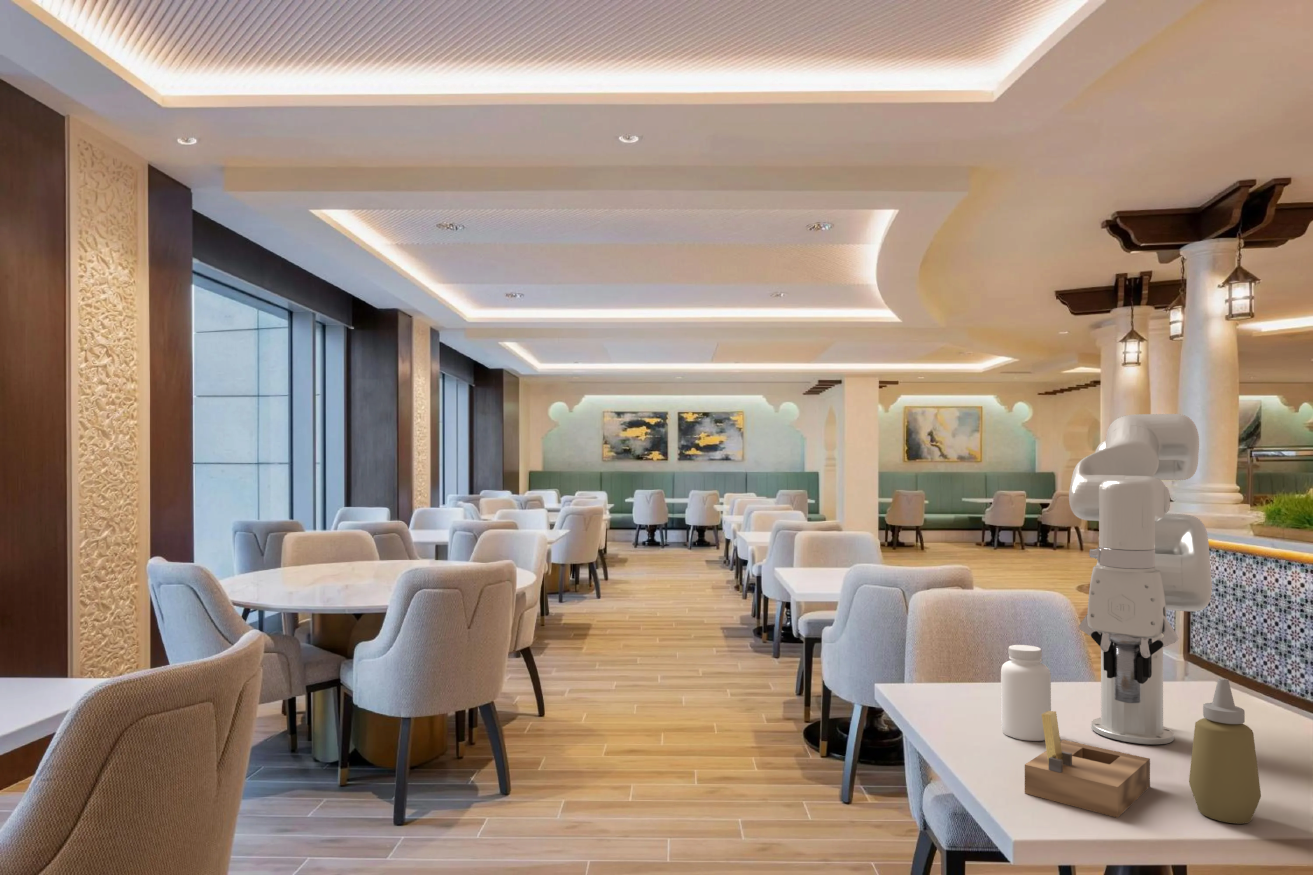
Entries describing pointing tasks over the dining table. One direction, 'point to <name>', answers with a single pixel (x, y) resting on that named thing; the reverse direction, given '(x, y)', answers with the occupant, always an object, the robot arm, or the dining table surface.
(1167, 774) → the dining table surface
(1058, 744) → the bar
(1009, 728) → the pill bottle
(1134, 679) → the steel pin
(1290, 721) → the dining table surface
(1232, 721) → the squeeze bottle
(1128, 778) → the block
